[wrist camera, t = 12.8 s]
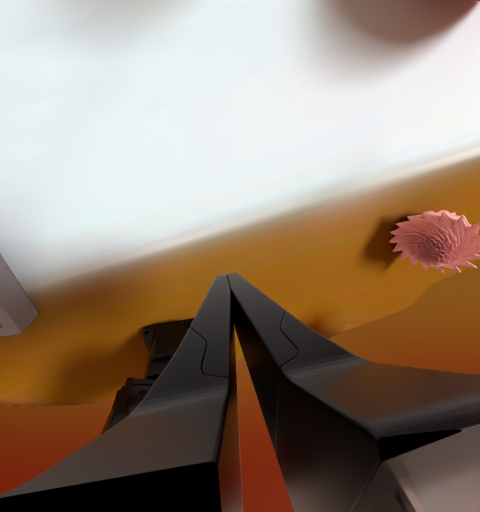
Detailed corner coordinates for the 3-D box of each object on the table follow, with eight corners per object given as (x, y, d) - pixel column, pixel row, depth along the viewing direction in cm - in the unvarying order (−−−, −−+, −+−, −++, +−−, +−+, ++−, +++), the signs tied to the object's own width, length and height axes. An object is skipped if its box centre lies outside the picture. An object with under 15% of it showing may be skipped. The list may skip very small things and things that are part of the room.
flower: (526, 209, 19) (521, 251, 17) (459, 262, 25) (448, 298, 23) (423, 179, 22) (406, 210, 20) (387, 233, 29) (370, 261, 26)
